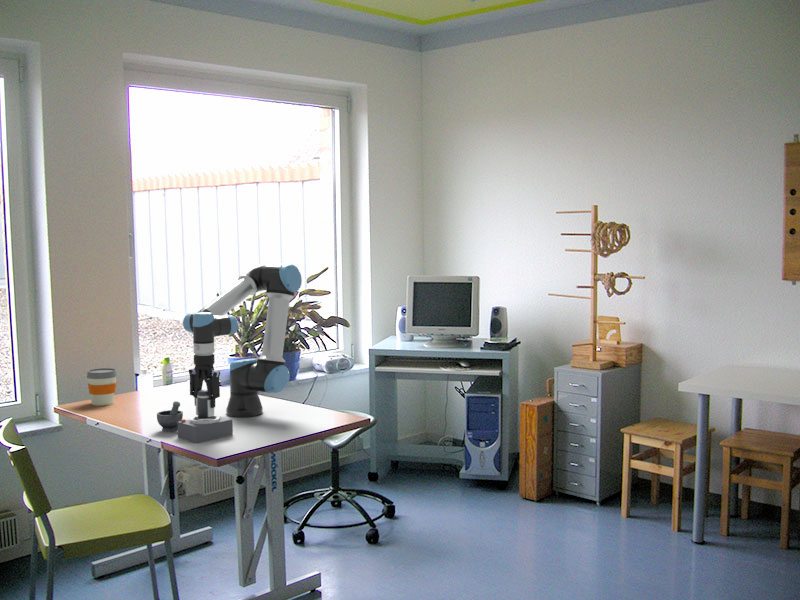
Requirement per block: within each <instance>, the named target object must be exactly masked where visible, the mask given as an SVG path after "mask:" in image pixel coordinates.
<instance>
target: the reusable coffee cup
mask: <svg viewBox="0 0 800 600" xmlns="http://www.w3.org/2000/svg"><path fill="white" fill-rule="evenodd" d="M86 372H87V374H86V378H87V381H88V383H87V387H88V392H89V394H90V399H91V405H92V406H108V405H109V406H110V405H112V404H114V401H115V400H114V399H115V393H116V391H117V376H118V373H117V369H115V368H111V367H109V368H108V367H105V368H103V367H99V368H92V369H89V370H87V371H86Z"/></svg>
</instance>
